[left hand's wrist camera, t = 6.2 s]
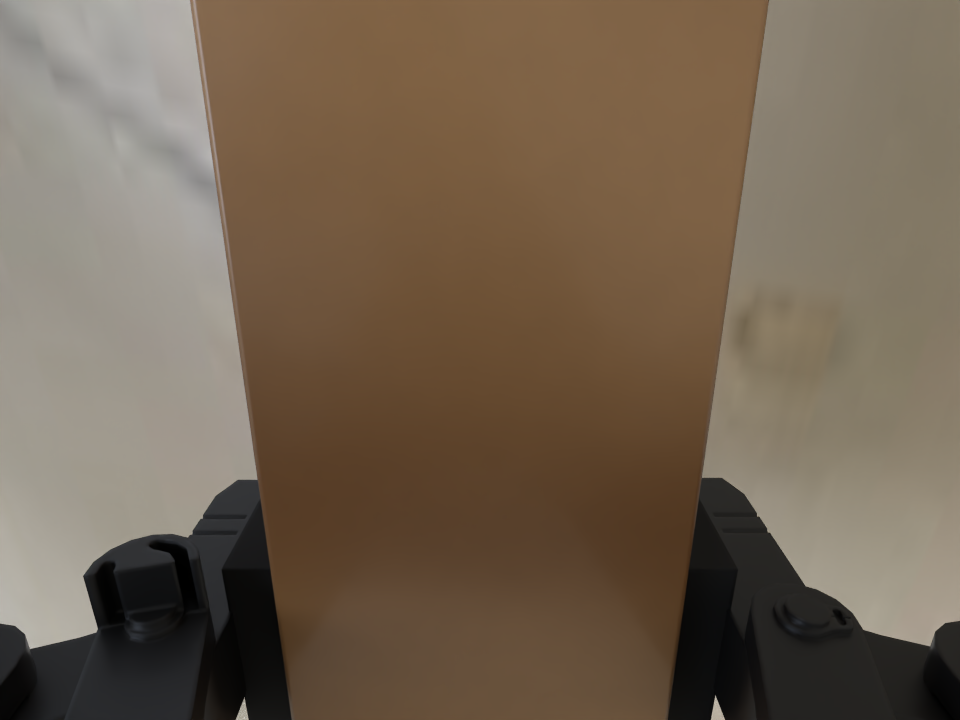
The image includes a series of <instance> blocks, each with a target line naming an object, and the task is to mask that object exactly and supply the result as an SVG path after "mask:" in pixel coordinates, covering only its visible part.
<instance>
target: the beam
mask: <svg viewBox="0 0 960 720" xmlns="http://www.w3.org/2000/svg"><path fill="white" fill-rule="evenodd" d="M190 3H191V11H192V18H193V25H194V32H195V39H196V46H197V53H198V60H199V67H200V74H201V81H202V88H203V95H204V103H205V110H206V117H207V124H208V131H209V138H210V145H211V152H212V159H213V166H214V173H215V180H216V187H217V195H218V202H219V209H220V216H221V223H222V230H223V237H224V244H225V251H226V258H227V265H228V272H229V279H230V287H231V294H232V301H233V308H234V315H235V322H236V329H237V336H238V343H239V350H240V357H241V364H242V371H243V379H244V386H245V393H246V400H247V407H248V414H249V421H250V428H251V435H252V442H253V449H254V456H255V463H256V470H257V478H258V485H259V492H260V499H261V506H262V513H263V520H264V527H265V534H266V541H267V548H268V555H269V562H270V570H271V577H272V584H273V591H274V598H275V605H276V612H277V619H278V626H279V633H280V640H281V647H282V654H283V662H284V669H285V676H286V683H287V690H288V697H289V704H290V711H291V718H292V720H668V714H669V707H670V700H671V692H672V685H673V678H674V671H675V664H676V657H677V650H678V643H679V636H680V628H681V621H682V614H683V607H684V600H685V593H686V586H687V579H688V572H689V565H690V557H691V550H692V543H693V536H694V529H695V522H696V515H697V508H698V501H699V493H700V486H701V479H702V472H703V465H704V458H705V451H706V444H707V437H708V430H709V422H710V415H711V408H712V401H713V394H714V387H715V380H716V373H717V366H718V358H719V351H720V344H721V337H722V330H723V323H724V316H725V309H726V302H727V295H728V287H729V280H730V273H731V266H732V259H733V252H734V245H735V238H736V231H737V223H738V216H739V209H740V202H741V195H742V188H743V181H744V174H745V167H746V160H747V152H748V145H749V138H750V131H751V124H752V117H753V110H754V103H755V96H756V88H757V81H758V74H759V67H760V60H761V53H762V46H763V39H764V32H765V25H766V17H767V10H768V3H769V0H190Z"/></svg>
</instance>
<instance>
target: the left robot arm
mask: <svg viewBox="0 0 960 720" xmlns="http://www.w3.org/2000/svg"><path fill="white" fill-rule="evenodd" d="M83 577H84V581H85V584H86V588H87V591H88V595H89V598H90V602H91V605H92V609H93V612H94V616H95V620H96V623H97V627H98V630H97V633H93V634H90V635H87V636H84V637H80V638H76V639H72V640H68V641H63V642H59V643H55V644H50V645H46V646H42V647H38V648H33V649H30V648H29V645H28V642H27V639H26V636H25V634H24V633H23V632H21V631H20V630H19V629H18V628H17V627H15V626H11V625H5V624H0V720H236V717H237V715H238V712H239V710H240V707H241V705H242V702H243V699H244V697H245V702H246V707H247V713H248V718H249V720H292V718H291V711H290V704H289V697H288V690H287V683H286V676H285V669H284V662H283V654H282V647H281V640H280V633H279V626H278V619H277V612H276V605H275V598H274V591H273V584H272V577H271V570H270V562H269V555H268V548H267V541H266V534H265V527H264V520H263V513H262V506H261V499H260V492H259V485H258V480H237V481H236V482H234V483H233V484H232V485H230V486H229V487H228V488H226V489H225V490H224V491H222V492H221V493H219V494H218V495H217V496H216V497H215V498H214V500H213V501H212V503H211V504H210V506H209V507H208V509H207V510H206V512H205V513H204V515H203V519H200V521H199V522H198V524H197V525H196V527H195V528H194V530H193V534H192V535H190V536H189V537H188V538H186V537H182V536H178V535H174V534H163V535H150V536H146V537H142V538H138V539H134V540H131V541H128V542H126V543H124V544H122V545H120V546H117V547H115V548H113V549H111V550H109V551H108V552H107V553H105V554H104V555H103V556H101V557H100V558H99V559H97V560H96V561H94V562H93V564H92V565H91V566H90V568H89V569H88V570H87V572H86V573H85V574H84V576H83ZM715 695H716V698H717V700H718V703H719V705H720V708H721V710H722V713H723V715H724V718H725V720H960V621H957V622H950V623H945V624H944V625H943V626H942V627H940V628H939V629H938V630H937V631H936V632H935V634H934V637H933V640H932V643H931V646H925V645H921V644H917V643H912V642H908V641H904V640H899V639H895V638H891V637H886V636H882V635H878V634H875V633H872V632H869V631H865V630H863V629H862V627H861V626H860V624H859V622H858V621H857V619H856V618H855V616H854V615H853V613H852V612H851V611H849V610H848V609H847V608H846V607H845V606H843V605H842V604H841V603H840V602H839V601H837V600H836V599H834V598H832V597H830V596H828V595H826V594H824V593H822V592H820V591H818V590H816V589H813V588H809V587H806V586H805V585H804V583H803V582H802V580H801V579H800V577H799V576H798V574H797V573H796V571H795V570H794V568H793V567H792V565H791V564H790V562H789V561H788V559H787V558H786V556H785V555H784V553H783V552H782V550H781V549H780V547H779V546H778V544H777V543H776V541H775V540H774V538H773V537H772V535H771V534H770V533H768V532H767V528H766V526H765V525H764V523H763V522H762V520H761V519H760V517H757V513H756V511H755V510H754V508H753V507H752V505H751V504H750V502H749V501H748V499H747V498H746V496H745V495H744V494H743V493H742V492H740V491H739V490H738V489H736V488H735V487H734V486H732V485H731V484H729V483H728V482H727V481H725V480H724V479H723V478H702V479H701V486H700V493H699V501H698V508H697V515H696V522H695V529H694V536H693V543H692V550H691V557H690V565H689V572H688V579H687V586H686V593H685V600H684V607H683V614H682V621H681V628H680V636H679V643H678V650H677V657H676V664H675V671H674V678H673V685H672V692H671V700H670V707H669V714H668V720H711V716H712V710H713V705H714V699H715Z"/></svg>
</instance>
